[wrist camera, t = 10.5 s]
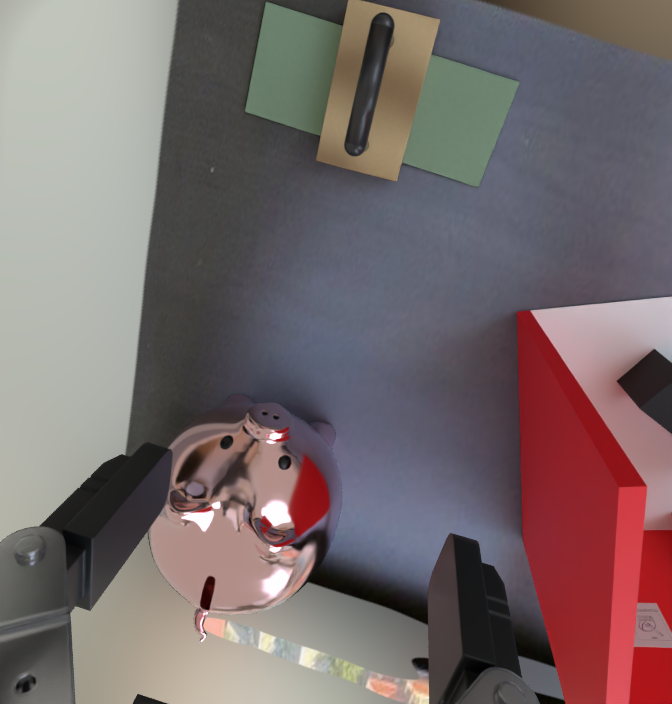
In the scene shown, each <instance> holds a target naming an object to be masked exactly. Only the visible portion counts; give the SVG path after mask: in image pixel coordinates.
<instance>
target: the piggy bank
mask: <svg viewBox="0 0 672 704" xmlns="http://www.w3.org/2000/svg"><path fill="white" fill-rule="evenodd" d="M335 439H336V433H335V430H334V429H333V427H332V426H330V425H329V424H327V423H324V422H313V423H311V424H308V423H307V422H305V421H304V420H302V419H301V418H299V417H297V416H295V415H293V414H291V413H289V412H288V411H287V410H286V409H285V408H284V407H282V406H281V405H279V404H277V403H272V402H264V403H258V404H257V403H253V401H252V400H251V399H250V398H249V397H247V396H245V395H243V394H233V395H231V396H229V398H228V399H227V400H226V402H225V404H224V406H221V407H218V408H215V409H213V410H210V411H208V412H206V413H204V414H202V415H200V416H198V417H197V418H195V419H194V420H192V421H191V422H189V423H188V424H187V425H186V426H185V427H184V428H182V429H181V430H180V432H179V433H178V434H177V435H176V436H175V437H174V438H173V440H172V441H171V442H170V444H169V445H168V447H167V448H168V449H171V450H172V451H173V459H172V468H171V477H170V485H169V493H168V497H167V500H166V503H165V505H164V508H163V510H162V511H161V513H160V515H159V516H158V517H157V519H156V520H155V522H154V523H153V524H152V526H151V527H150V528H149V530H148V539H149V545H150V549H151V553H152V556H153V559H154V561H155V564H156V566H157V568H158V570H159V571H160V573H161V575H162V576H163V577H164V579H165V580H166V581H167V582H168V583H169V584H170V586H172V588H174V590H176V592H178V593H179V594H180V595H181V596H182V597H183V598H185V599H186V600H187V601H188V602H189V603H191V604H192V605H193V606H195V607H196V608H197V610H196V612H195V614H194V627H195V630H196V631H197V633H199V634H201V635H202V637H201V639H200V642H202V641H203V640H204V639H205V637H206V635H207V634H206V632H205V631H204V628H203V624H204V621H205V619H206V617H207V615H208V614H209V613H212V614H218V615H240V614H250V613H257V612H262V611H266V610H269V609H271V608H274V607H276V606H278V605H280V604H282V603H283V602H285V601H286V600H288V599H289V598H291V597H292V596H293V595H294V594H296V593H297V592H298V591H299V590H300V589H301V588H302V587H303V586H304V585H305V584H306V583H307V582H308V581H309V580H310V579H311V578H312V576H313V575H314V574H315V572H316V571H317V570H318V568H319V567H320V565H321V563H322V562H323V560H324V558H325V556H326V554H327V553H328V551H329V548H330V546H331V544H332V541H333V539H334V536H335V533H336V530H337V527H338V523H339V519H340V514H341V507H342V483H341V477H340V472H339V468H338V465H337V462H336V459H335V457H334V455H333V452H332V449H333V446H334V443H335Z"/></svg>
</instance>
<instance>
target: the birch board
mask: <svg viewBox="0 0 672 704" xmlns="http://www.w3.org/2000/svg"><path fill="white" fill-rule="evenodd" d="M439 24H440V20H439V19H436V18H432V17H428V16H423V15H419V14H415V13H411V12H407V11H403V10H399V9H395V8H391V7H386V6H382V5H378V4H374V3H370V2H366V1H362V0H348V4H347V9H346V14H345V19H344V23H343V28H342V33H341V38H340V43H339V48H338V53H337V58H336V63H335V68H334V73H333V78H332V83H331V88H330V93H329V98H328V102H327V107H326V112H325V117H324V122H323V127H322V132H321V137H320V142H319V147H318V152H317V157H316V161H319V162H322V163H326V164H330V165H334V166H338V167H342V168H345V169H349V170H353V171H357V172H361V173H365V174H368V175H372V176H376V177H380V178H384V179H387V180H391V181H395V182H396V181H397V179H398V176H399V172H400V168H401V165H402V161H403V157H404V154H405V150H406V146H407V143H408V139H409V135H410V131H411V128H412V124H413V120H414V117H415V113H416V109H417V106H418V102H419V98H420V95H421V91H422V87H423V83H424V80H425V76H426V72H427V69H428V65H429V61H430V58H431V54H432V50H433V47H434V43H435V39H436V35H437V32H438V28H439Z"/></svg>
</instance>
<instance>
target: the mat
mask: <svg viewBox="0 0 672 704" xmlns="http://www.w3.org/2000/svg"><path fill="white" fill-rule="evenodd" d="M342 28H343V26H341V25H338V24H335V23H332V22H328V21H325V20H322V19H319V18H316V17H313V16H310V15H306V14H303V13H300V12H297V11H294V10H291V9H288V8H284V7H281V6H278V5H275V4H272V3H269V2H266V5H265V10H264V15H263V20H262V25H261V31H260V36H259V41H258V46H257V51H256V57H255V62H254V67H253V72H252V77H251V83H250V88H249V93H248V98H247V103H246V109H245V112H247V113H251V114H254V115H257V116H260V117H263V118H266V119H269V120H272V121H275V122H278V123H281V124H284V125H288V126H291V127H294V128H297V129H300V130H303V131H306V132H309V133H312V134H315V135H318V136H321V132H322V127H323V122H324V117H325V112H326V107H327V102H328V98H329V93H330V88H331V83H332V78H333V73H334V68H335V63H336V58H337V53H338V48H339V43H340V38H341V33H342ZM519 84H520V82H517V81H514V80H511V79H508V78H505V77H502V76H498V75H495V74H492V73H489V72H486V71H483V70H480V69H476V68H473V67H470V66H467V65H464V64H461V63H458V62H454V61H451V60H448V59H445V58H442V57H439V56H436V55H432V54H431V58H430V61H429V65H428V69H427V72H426V76H425V80H424V83H423V87H422V91H421V95H420V98H419V102H418V106H417V109H416V113H415V117H414V120H413V124H412V128H411V131H410V135H409V139H408V143H407V146H406V150H405V154H404V157H403V161H402V163H405V164H408V165H411V166H414V167H417V168H420V169H423V170H426V171H429V172H432V173H435V174H439V175H442V176H445V177H448V178H451V179H454V180H457V181H460V182H463V183H466V184H469V185H472V186H476V187H479V184H480V182H481V179H482V177H483V174H484V172H485V169H486V167H487V164H488V162H489V159H490V157H491V154H492V152H493V149H494V147H495V144H496V142H497V139H498V137H499V134H500V131H501V129H502V126H503V124H504V121H505V119H506V116H507V114H508V111H509V109H510V106H511V104H512V101H513V99H514V96H515V94H516V91H517V89H518V86H519Z"/></svg>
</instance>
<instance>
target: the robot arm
mask: <svg viewBox="0 0 672 704" xmlns="http://www.w3.org/2000/svg"><path fill="white" fill-rule="evenodd" d="M172 459H173V451H172V450H171V449H168V448H165V447H161V446H158V445H155V444H151V443H148V442H146V443H144V444H143V445H142V446H141V447H140V448H139V449H138V450H137V451H136V452H135V453H134V454H133V455H132V456H131V457H129V456H125V455H122V454H121V455H119V456H117V457H115V458H113V459H111V460H109V461H107V462H105V463H103V464H102V465H101V466H100V467H99V468H98V469H97V470H96V471H95V472H94V473H93V474H92V475H91V477H90V478H88V479H87V480H86V481H85V482H84V483H83V484H82V485H81V487H80V488H78V489H77V490H76V491H75V492H74V493H73V494H72V495H71V496H70V497H69V498H67V499H66V501H64V503H62V504H61V505H60V506H59V507H58V508H57V509H56V511H54V512H53V513H52V514H51V515H50V516H49V517H48V518H47V519H46V520H45V521H44V522H43V523H42V524H41V525H40V526H39V527H29V528H25V529H22V530H18V531H16V532H14V533H12V534H10V535H9V536H7V537H6V538H4V539H3V540H2V541H1V542H0V704H75V689H74V671H73V670H74V669H73V652H72V635H71V617H70V613H71V612H72V610H73V609H74V607H75V606H77V607H80V608H83V609H86V610H89V611H90V610H91V609H92V608H93V606H94V605H95V603H96V602H97V601H98V599H99V598H100V597H101V595H102V594H103V592H104V591H105V589H106V588H107V587H108V585H109V584H110V583H111V581H112V580H113V579H114V577H115V576H116V574H117V573H118V571H119V570H120V569H121V567H122V566H123V564H124V563H125V562H126V560H127V559H128V558H129V556H130V555H131V553H132V552H133V551H134V549H135V548H136V546H137V545H138V544H139V542H140V541H141V540H142V538H143V537H144V535H145V534H146V533H147V531H148V530H149V528H150V527H151V526H152V524H153V523H154V522H155V520H156V519H157V517H158V516H159V515H160V513H161V511H162V510H163V508H164V505H165V503H166V500H167V497H168V493H169V485H170V477H171V468H172ZM428 638H429V639H428V640H429V704H540V703H539V701H538V699H537V697H536V695H535V693H534V692H533V690H532V689H531V688H530V687H529V685H528V684H527V683H526V682H525V681H524V680H523V679H522V675H521V670H520V665H519V660H518V654H517V649H516V644H515V639H514V633H513V628H512V623H511V620H510V612H509V607H508V605H507V596H506V591H505V586H504V583H503V581H502V580H501V578H500V576H499V575H498V573H497V571H496V570H495V568H494V566H491V565H488V564H484V563H482V561H481V554H480V547H479V543H478V541H476V540H473V539H469V538H466V537H462V536H459V535H456V534H452V533H450V534H449V535H448V537H447V539H446V541H445V544H444V546H443V548H442V551H441V553H440V555H439V558H438V560H437V563H436V565H435V567H434V570H433V572H432V575H431V579H430V583H429V589H428ZM133 704H167V703H163V702H161V701H158V700H155V699H152V698H149V697H145V696H142V695H139V694H137V696H136V698H135V700H134V702H133Z"/></svg>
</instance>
